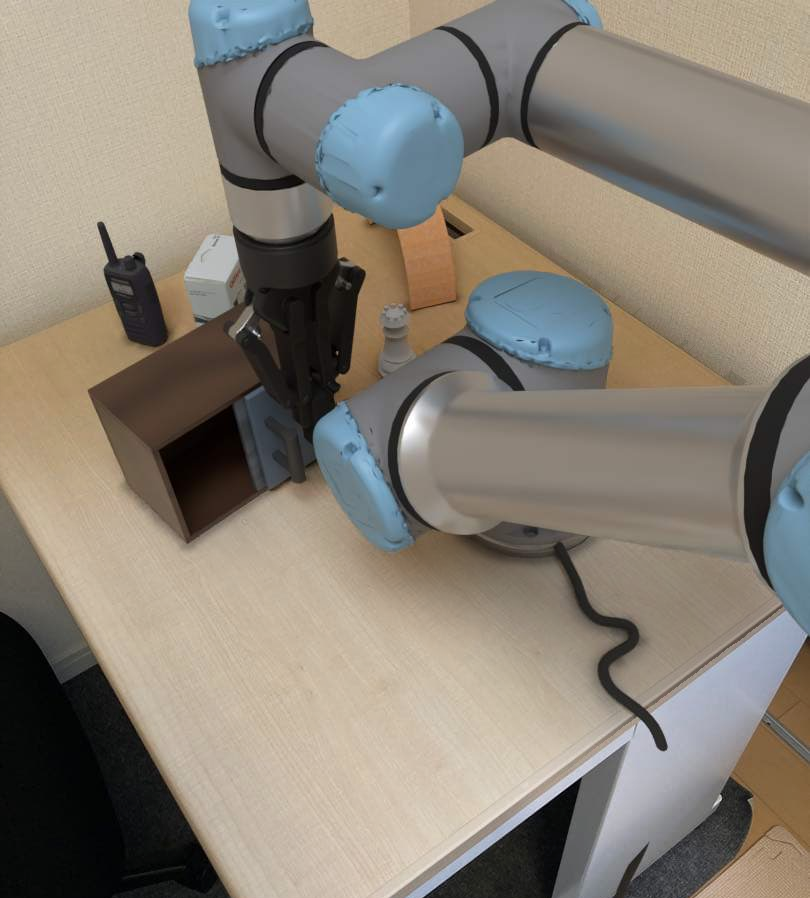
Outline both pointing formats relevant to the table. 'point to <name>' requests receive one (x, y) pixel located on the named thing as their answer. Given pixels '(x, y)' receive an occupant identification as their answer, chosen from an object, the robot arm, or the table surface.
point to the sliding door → (278, 439)
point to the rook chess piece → (395, 339)
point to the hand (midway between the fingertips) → (319, 441)
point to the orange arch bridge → (428, 262)
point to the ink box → (214, 278)
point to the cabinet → (187, 426)
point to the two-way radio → (133, 294)
